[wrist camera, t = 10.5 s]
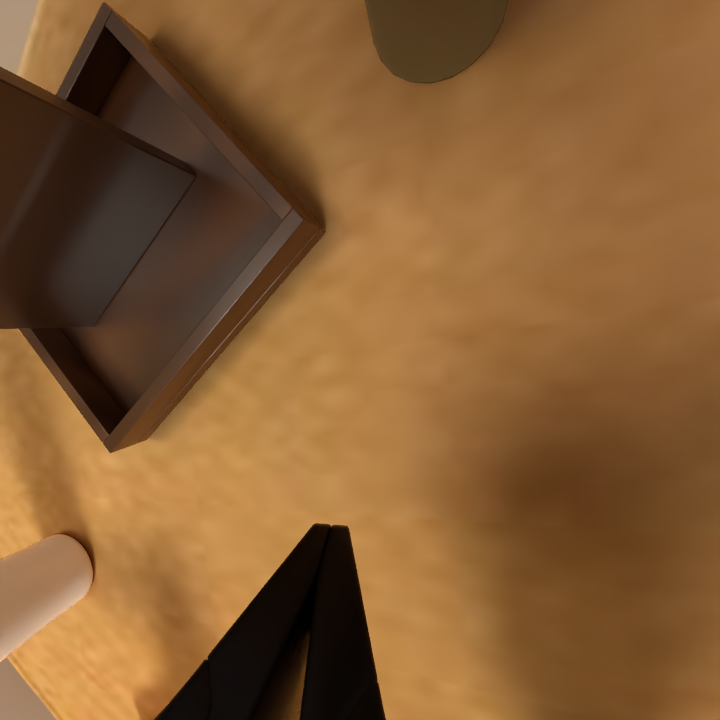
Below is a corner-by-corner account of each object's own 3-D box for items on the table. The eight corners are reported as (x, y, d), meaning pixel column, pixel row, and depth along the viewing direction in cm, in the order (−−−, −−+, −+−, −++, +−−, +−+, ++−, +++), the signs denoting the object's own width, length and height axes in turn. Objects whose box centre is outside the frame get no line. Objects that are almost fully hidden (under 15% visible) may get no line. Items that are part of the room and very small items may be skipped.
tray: (326, 231, 19) (100, 109, 8) (146, 440, 25) (-142, 545, 13) (146, 36, 22) (-238, -282, 10) (16, 268, 27) (-329, 231, 16)
